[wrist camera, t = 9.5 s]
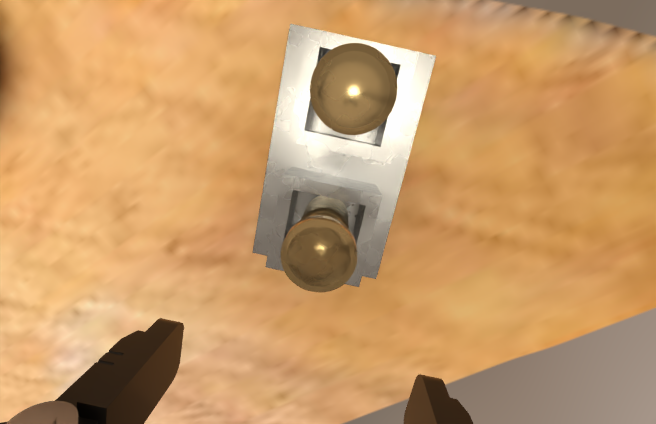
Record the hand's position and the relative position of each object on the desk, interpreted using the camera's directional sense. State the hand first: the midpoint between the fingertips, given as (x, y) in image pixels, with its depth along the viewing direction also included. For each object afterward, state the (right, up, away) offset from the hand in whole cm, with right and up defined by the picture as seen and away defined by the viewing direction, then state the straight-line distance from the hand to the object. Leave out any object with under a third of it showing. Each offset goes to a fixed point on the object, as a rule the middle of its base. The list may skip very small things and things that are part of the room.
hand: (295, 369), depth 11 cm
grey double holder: (+2, +10, +19) cm, 22 cm away
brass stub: (+1, +5, +19) cm, 20 cm away
